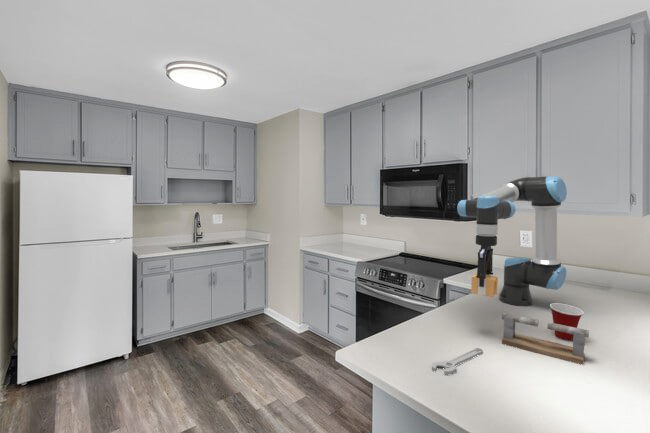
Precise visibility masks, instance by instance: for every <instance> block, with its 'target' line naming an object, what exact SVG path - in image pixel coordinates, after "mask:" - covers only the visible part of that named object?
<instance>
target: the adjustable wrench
mask: <svg viewBox="0 0 650 433" xmlns="http://www.w3.org/2000/svg"><path fill="white" fill-rule="evenodd" d="M482 353H484V349H482V348H479V347H475V348H473V349H471V350H469V351H467V352H465V353H462V354H461V355H458V356H457V357H455V358H452V359H449V360H446V361H444V360H443V361H434V362H432V363H431V370H432V372H434V371H435V372H436V371H437V370H443V368H444V369H445V370H444V371H443V372H444V374H446V375H445V376H449V375H448V374H452V373H454V372H456V371H458V369H457V368H456V367H457V366H456V365H458V364H460V363H462V362H464V363H466V362H468V361H467V360H469V359H471V358H473V357H475V356H477V355H479V356H481V355H483V354H482ZM480 354H481V355H480ZM477 357H478V356H477ZM475 358H476V357H475ZM473 359H474V358H473ZM471 360H472V359H471ZM465 361H466V362H465ZM469 361H470V360H469ZM462 364H463V363H462ZM460 365H461V364H460ZM455 366H456V367H455ZM458 366H459V365H458ZM437 368H438V369H437ZM441 368H442V369H441ZM456 373H457V372H456ZM444 374H443V375H444ZM454 374H455V373H454ZM452 375H453V374H452Z"/></svg>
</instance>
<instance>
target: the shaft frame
mask: <svg viewBox="0 0 650 433" xmlns="http://www.w3.org/2000/svg"><path fill="white" fill-rule="evenodd" d="M501 319H502V320H503V336H502V339H501V344H502V345H505V344H506V345H505V346H508V345H509V346H508V347H512V346H513V347H514V348H516V347H517V348H516V349H521V350H525V351H528V352H533V353H536V354H540V355H543V356H547V357H551V358H554V359H555V358H556V359H558V358H559V360H562V359H563V361H567V362H570V361H571V362H570V363H574V364H578V363H579V365H581V364H583V365H584V360H585V355H584V354H585V343H586V342H585V340H586V339H585V338H588V339H589V336H590V330H588V329H584V328H579V327H577V328H575V327H569V326H565V325H560V324H555V323H553V322H550V321H548V322H547V327H546V328H547V330H550V331H554V332H555V331H559V332H564V333H569V334H573V335H574V336H573V340H572V346H570V345H567V344H566V345H565V344H563V343H562V344H561V343H559V342H554V341H550V340H545V339H541V338H538V337H533V336H529V335H524V334H520V333H516V323H517V324H518V323H519V324H524V325H529V326H531V327H533V326H534V327H539V319H535V318H531V317H525V316H521V315H516V314H512V313H506V312H502V314H501Z"/></svg>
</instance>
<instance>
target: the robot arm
mask: <svg viewBox="0 0 650 433" xmlns="http://www.w3.org/2000/svg"><path fill="white" fill-rule="evenodd" d="M567 193H568V192H567V186H566V183H565V181H564V180H563V178H561V177H559V176H550V175H549V176H531V177H530V176H529V177H528V176H527V177H520V178H517V179H514V180H510V181H508V182H505V183H504V184H502V185H501V186H500V187H499V188H497V189H494V190H492V191H489V192H486V193H484V194H482V195H480V196H477V197H474V198H472V199H462V200H460V201H458V204H457V208H456V209H457V214H458V215H459V216H460V217H466V218H476V222H475V223H476V224H475V226H474V228H475V233H476V235H475V245H476V246H477V245H478V246H480V249H478V251H477V270H476V271H477V272H476V274H477V276H476V278H478V294H480V295H479V296H483V295H486V275H488V276H494V272H493V255H494V254H493V253H494V248H492V247H495V246H497V244H498V237H497V236H498V231H499V230H498V228H499V226H498V222H499V221H498V220H508V219H511V218H512V217H513V216H514V215H515V213H516V206H515V204H514V203H513V202H515V201H516V202H518V201H519V202H522V201H523V202H531V207H533V208H534V210H535V212H534V215H535V218H534V220H535V224H534V225H535V257H534V258H533V259H532V260H531V258H530V257H525V256H524V257H523V256H522V257H520V256H519V257H518V256H517V257H516V256H515V257H508V258H506V259H505V260H504V264H503V268H504V269H503V270H504V271H503V285H502V288H501V291H500V293H499V297H498V298H499V301H500V302H503V303H505V304H508V305H514V306H520V307H523V306H524V307H528V306H532V305H533V302H534V300H533V296H532V293H531V291H530V286H535V287H539V288H544V289H547V290H554V291H556V290H557V291H558V290H559V289H561V288H562V287H563V285H564V283H565V280H566V278H567V267H565V266H563V265H562V261H561V260H560V259H559V258H558V208H560V206H562V202H564V201H566V200H567ZM496 235H497V236H496ZM480 274H481V275H480ZM478 294H477V295H478Z"/></svg>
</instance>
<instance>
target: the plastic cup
mask: <svg viewBox="0 0 650 433" xmlns="http://www.w3.org/2000/svg"><path fill="white" fill-rule="evenodd" d="M549 307H550V310H551V315H552V323H555V324H560V325H565V326H569V327H575V328H578V326H579V323H580V320H581V318H582V316H583V315H584V313H585V312H584V311H583V310H582V309H581V308H579V307H576V306H574V305H570V304H566V303H561V302H560V303H559V302H554V303H550V304H549ZM554 334H555V337H556V338H558V339H560V340H565V341H573V336H574V335H573V334H569V333H564V332H559V331H555V330H554Z"/></svg>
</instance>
